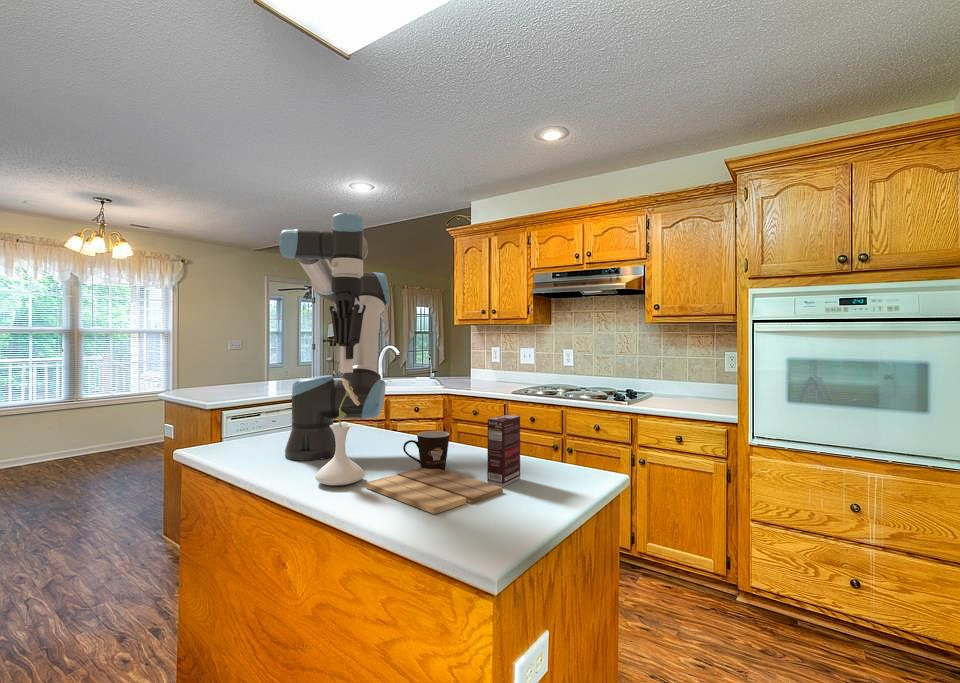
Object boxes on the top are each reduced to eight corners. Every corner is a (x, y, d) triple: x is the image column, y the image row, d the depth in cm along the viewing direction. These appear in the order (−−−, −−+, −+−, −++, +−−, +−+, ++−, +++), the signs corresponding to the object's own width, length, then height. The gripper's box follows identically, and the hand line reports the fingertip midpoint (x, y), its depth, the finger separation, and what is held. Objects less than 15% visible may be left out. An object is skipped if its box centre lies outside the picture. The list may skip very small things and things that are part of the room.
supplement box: (504, 475, 121) (505, 413, 120) (520, 479, 118) (521, 415, 118) (485, 484, 113) (486, 418, 113) (502, 487, 111) (503, 420, 111)
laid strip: (395, 478, 117) (395, 473, 117) (427, 470, 125) (427, 465, 125) (471, 504, 99) (471, 498, 99) (502, 492, 107) (502, 487, 107)
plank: (365, 487, 109) (365, 481, 109) (396, 479, 116) (396, 474, 116) (434, 514, 93) (434, 507, 93) (466, 503, 100) (466, 497, 100)
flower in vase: (359, 489, 108) (360, 381, 108) (308, 490, 108) (309, 381, 107) (369, 473, 121) (370, 376, 121) (324, 473, 121) (325, 376, 120)
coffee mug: (451, 467, 129) (451, 431, 129) (446, 476, 120) (446, 437, 120) (410, 466, 130) (410, 430, 130) (402, 475, 121) (402, 436, 121)
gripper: (320, 278, 118) (319, 371, 118) (348, 273, 109) (347, 374, 109) (346, 280, 124) (345, 370, 124) (375, 276, 115) (374, 373, 115)
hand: (346, 372), depth 117 cm, fingers closed
